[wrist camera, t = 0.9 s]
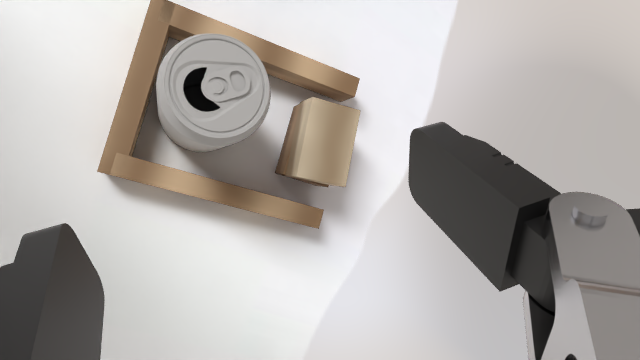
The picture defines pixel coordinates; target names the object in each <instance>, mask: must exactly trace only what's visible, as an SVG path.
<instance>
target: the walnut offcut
mask: <svg viewBox="0 0 640 360" xmlns="http://www.w3.org/2000/svg"><path fill="white" fill-rule="evenodd" d="M299 106H300V104H299V105H297V106H294V108H293V111H292V115H291V118H290V122H289V125H288V129H287V132H286V136H285V139H284V143H283V146H282V150H281V153H280V157H279V160H278V164H277V167H276V171H275V173H276V174H280V175H283V176H285V175H286V170H287V165H288V160H289V155H290V150H291V146H292V141H293V136H294V131H295V126H296V121H297V116H298V111H299ZM286 177H290V176H286ZM290 178H293V179H296V180H300V181H303V182H306V183H310V184H313V185H316V186H323V187H328V186H329V185H327V184H322V183H318V182H313V181H308V180H304V179H299V178H294V177H290Z"/></svg>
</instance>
